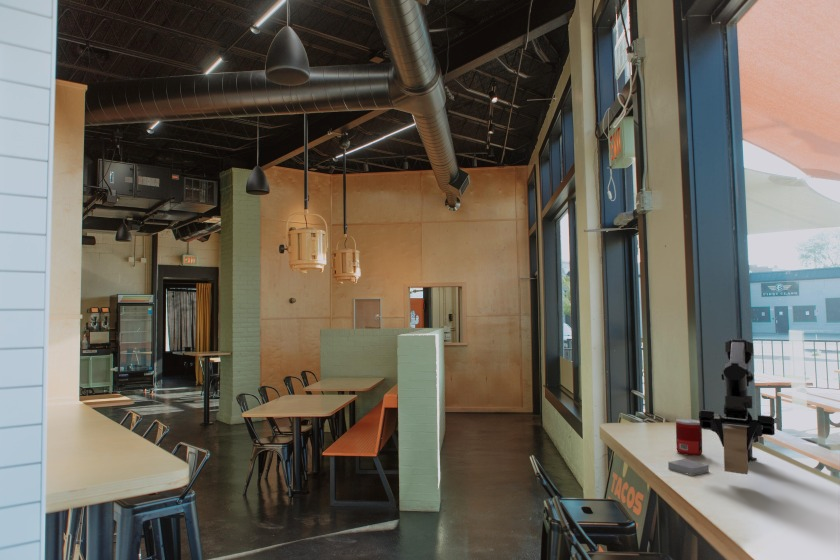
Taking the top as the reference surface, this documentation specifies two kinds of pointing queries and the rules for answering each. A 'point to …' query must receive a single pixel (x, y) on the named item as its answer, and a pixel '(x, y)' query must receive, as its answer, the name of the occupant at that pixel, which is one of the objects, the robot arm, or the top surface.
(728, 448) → the walnut block
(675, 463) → the slate tile
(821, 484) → the top surface
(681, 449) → the canned food
